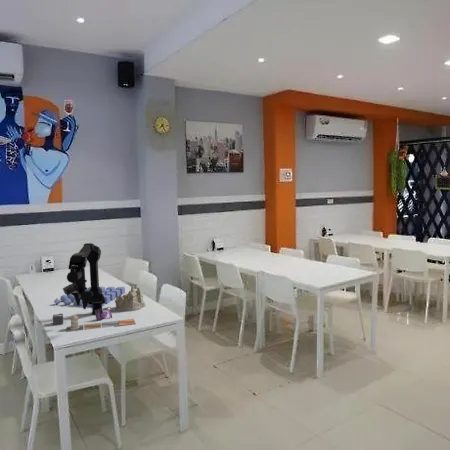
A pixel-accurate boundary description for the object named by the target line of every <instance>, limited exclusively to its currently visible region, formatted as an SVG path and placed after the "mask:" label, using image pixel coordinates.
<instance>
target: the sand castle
mask: <svg viewBox="0 0 450 450" xmlns="http://www.w3.org/2000/svg"><path fill="white" fill-rule="evenodd" d="M114 302H115V310H118V311H120V312H135V311H139V310H141V309H143V308H145V307H146V303H145V301H144V295H143V294H142V290H141V287H138V286H137V289H136V290H135V287H134V286H133V285H132V286H130V290H129V291H128V293H126V292H125V293H124V294H123V295H121V294H119V296H117V298H116V299H114Z"/></svg>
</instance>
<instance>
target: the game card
mask: <svg viewBox="0 0 450 450" xmlns="http://www.w3.org/2000/svg"><path fill="white" fill-rule="evenodd" d="M101 310H103V313H102V314H101ZM108 315H109V318H108V319H112V318H113V315H112V310H111V306H108V307H104V308H103V307H102V309H98V310H95V315H94V316H95V318H96V322H100V321H103V319H106V318H107V317H108Z"/></svg>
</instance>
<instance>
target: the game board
mask: <svg viewBox="0 0 450 450" xmlns="http://www.w3.org/2000/svg"><path fill="white" fill-rule="evenodd" d="M130 325H131V326H132V325H136V321H135V318H128V319H121V320H113V321H112V320H111V321H103V322H95V323H87V324H78V326H80V328H79V329H76V330H71V329H70V327H71V325H69V326H66V327H65V328H66V330H65V332H66V333H68V332H78V331H84V330H85V331H86V330H95V329H101V328H111V327H114V328H116V327H123V326H130Z"/></svg>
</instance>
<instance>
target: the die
mask: <svg viewBox="0 0 450 450" xmlns="http://www.w3.org/2000/svg"><path fill="white" fill-rule="evenodd" d="M63 324H64V314H63V313H57V314H52V326H61V325H63Z"/></svg>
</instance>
